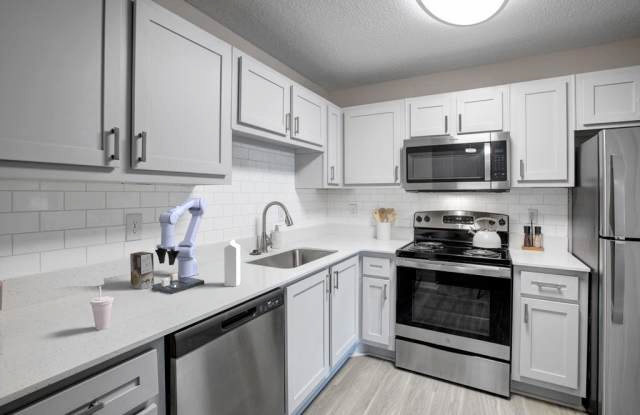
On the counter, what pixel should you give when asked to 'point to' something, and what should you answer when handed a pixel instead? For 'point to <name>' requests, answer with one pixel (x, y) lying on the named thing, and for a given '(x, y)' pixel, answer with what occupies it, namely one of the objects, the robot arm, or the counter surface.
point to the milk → (232, 264)
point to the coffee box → (142, 270)
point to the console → (179, 285)
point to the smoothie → (102, 311)
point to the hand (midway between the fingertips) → (166, 264)
